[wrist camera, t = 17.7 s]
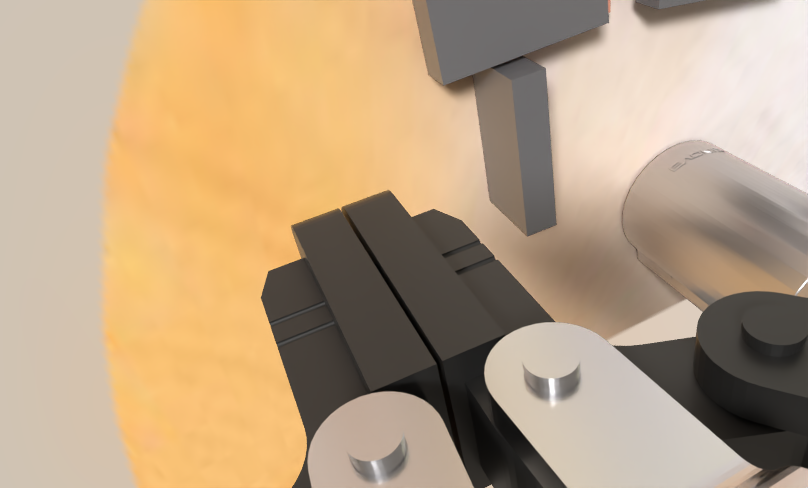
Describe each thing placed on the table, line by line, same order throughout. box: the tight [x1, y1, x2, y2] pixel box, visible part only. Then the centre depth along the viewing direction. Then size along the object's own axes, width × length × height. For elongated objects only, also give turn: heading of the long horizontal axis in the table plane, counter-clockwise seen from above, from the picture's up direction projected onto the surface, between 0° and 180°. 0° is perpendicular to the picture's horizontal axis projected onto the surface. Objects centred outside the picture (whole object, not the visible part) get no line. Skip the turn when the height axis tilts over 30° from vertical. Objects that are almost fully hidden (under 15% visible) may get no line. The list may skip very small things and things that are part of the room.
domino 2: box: [473, 56, 556, 237], centre depth 39 cm, size 5×2×10 cm
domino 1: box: [412, 0, 609, 86], centre depth 34 cm, size 5×2×10 cm
